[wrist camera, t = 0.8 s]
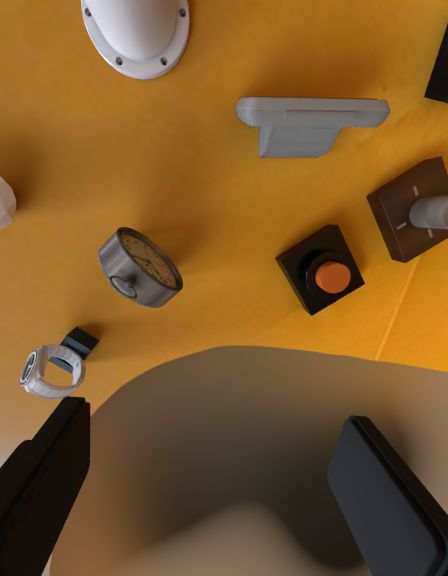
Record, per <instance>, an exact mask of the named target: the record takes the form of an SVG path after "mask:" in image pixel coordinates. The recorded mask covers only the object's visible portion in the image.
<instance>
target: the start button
mask: <svg viewBox="0 0 448 576" xmlns="http://www.w3.org/2000/svg"><path fill="white" fill-rule="evenodd" d="M350 277H351V276H350V271H349V269H348V268H347V267H346V266H345V265H343V264H340V263H337V262H334V261H328V262H325V263H323V264H322V265H320V266H319V267H318V269H317V271H316V273H315V281H316V283H317V285H318V286H319V287H320V288H322V289H324V290H325V291H327V292H329V293H338V292H341V291H342V290H344V289H345V288H346V287H347V285H348V284H349V282H350Z"/></svg>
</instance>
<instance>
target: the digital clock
mask: <svg viewBox="0 0 448 576" xmlns="http://www.w3.org/2000/svg"><path fill="white" fill-rule="evenodd" d="M235 111H236V114H237V117H238V118H239V120H241V121H242V122H244V123H246V124H249V125H250V127H255V126H259V158H317V157H319V156H321V155H323V154H325V153H327V152H329V151H330V150H331V149H332V146H333V143H334V140H335V138H336V137H337V135H338V133H339V132H340V130H341V129H342V127H378V126H379V125H380V124H382V123H383V122H384V121H385V120H386V118H387V117H388V115H389V113H390V108H389V105H388V103H387V101H386V100H377V99H362V98H313V97H264V96H257V97H247V98H240V100H239V101H238V103H237V104H236V106H235Z"/></svg>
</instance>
